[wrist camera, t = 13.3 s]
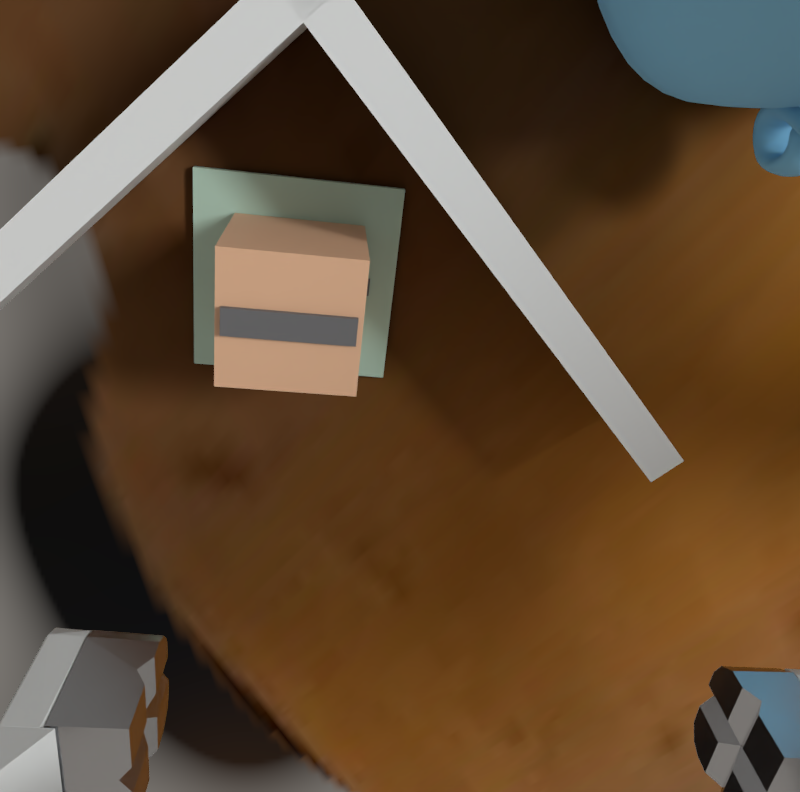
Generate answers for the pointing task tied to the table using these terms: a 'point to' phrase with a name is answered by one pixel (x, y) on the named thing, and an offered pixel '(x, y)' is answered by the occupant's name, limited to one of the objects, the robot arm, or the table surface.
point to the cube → (289, 305)
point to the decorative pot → (721, 61)
